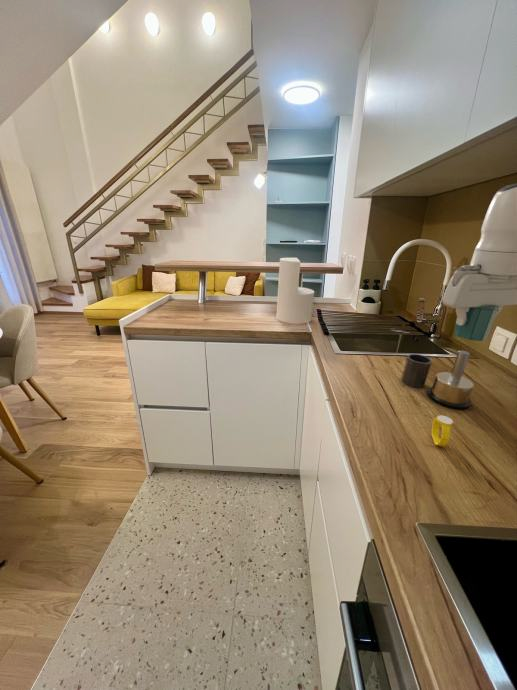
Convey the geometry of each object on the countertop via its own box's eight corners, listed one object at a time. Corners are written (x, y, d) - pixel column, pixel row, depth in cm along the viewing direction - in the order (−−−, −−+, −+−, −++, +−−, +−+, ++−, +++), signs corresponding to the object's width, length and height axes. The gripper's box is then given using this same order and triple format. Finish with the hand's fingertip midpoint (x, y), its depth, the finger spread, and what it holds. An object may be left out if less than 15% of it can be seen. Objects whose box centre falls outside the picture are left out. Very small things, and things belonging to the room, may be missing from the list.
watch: (426, 430, 63) (433, 409, 61) (440, 433, 63) (447, 411, 60) (433, 449, 58) (441, 426, 56) (448, 452, 57) (457, 429, 55)
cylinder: (276, 322, 131) (280, 261, 120) (276, 312, 147) (279, 257, 136) (313, 324, 131) (320, 262, 120) (308, 313, 146) (314, 258, 135)
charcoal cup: (420, 378, 86) (427, 355, 82) (427, 389, 80) (435, 364, 77) (399, 376, 87) (405, 352, 84) (404, 386, 81) (410, 361, 78)
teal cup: (477, 332, 71) (488, 302, 68) (490, 342, 65) (503, 308, 62) (450, 330, 72) (460, 300, 69) (461, 339, 66) (472, 306, 63)
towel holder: (460, 391, 79) (476, 346, 74) (477, 412, 70) (497, 363, 65) (422, 386, 81) (435, 342, 76) (434, 406, 72) (450, 358, 67)
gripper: (471, 267, 57) (451, 331, 62) (543, 266, 62) (519, 325, 67) (444, 263, 62) (428, 322, 68) (513, 262, 67) (492, 317, 73)
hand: (474, 323), depth 67 cm, fingers closed on teal cup, 6 cm apart
